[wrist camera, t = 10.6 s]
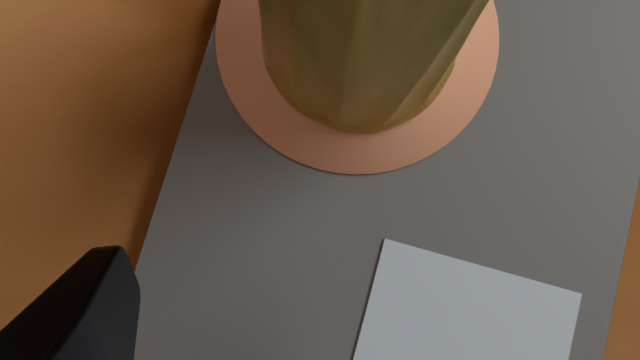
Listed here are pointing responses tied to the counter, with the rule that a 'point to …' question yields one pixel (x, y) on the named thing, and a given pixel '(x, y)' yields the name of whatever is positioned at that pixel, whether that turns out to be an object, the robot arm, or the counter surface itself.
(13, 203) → the counter surface
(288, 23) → the vase
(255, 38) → the picture board
